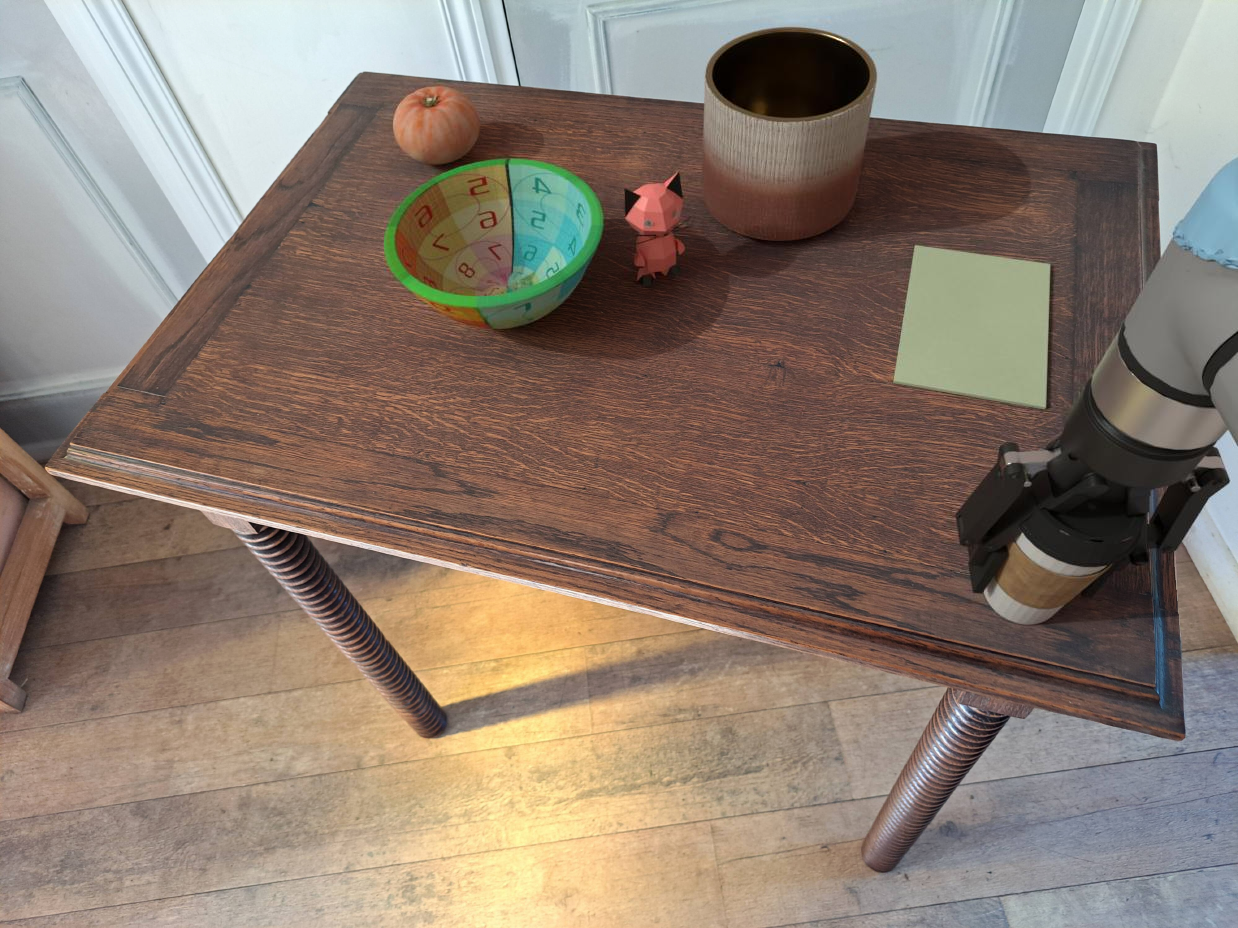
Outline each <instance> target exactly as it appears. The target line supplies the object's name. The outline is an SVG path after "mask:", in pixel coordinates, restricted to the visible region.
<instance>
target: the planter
mask: <svg viewBox="0 0 1238 928" xmlns="http://www.w3.org/2000/svg"><path fill="white" fill-rule="evenodd" d="M877 71H878V70H877V67H876V64H875V62H874V60H873V58H872V57H871V56H870V55H869V53H868V52H867V51H866V50H865V49H864V48H863V47H861V46H860V45H858V44H857V43H856V42H854V41H852V40H850V39H849V38H847V37H844V36H842V35H839V34H837V33H834V32H831V31H827V30H823V29H818V28H811V27H803V26H781V27H770V28H764V29H759V30H755V31H751V32H748V33H745V34H743V35H740V36H738V37H735V38H733V39H732V40H730V41H728V42H726V43H725V44H723V45H722V46H721V47H719V49H717V50H716V51H715V52H714V53H713V54H712V56H711V57H710V59H709V61H708V62H707V65H706V67H705V71H704V97H703V98H704V100H703V131H702V132H703V133H702V159H701V192H702V193H701V194H702V199H703V202H704V205H705V207H706V209H707V210H708V211H709V213H710V215H711V216H712V217H713V218H714V219H715V220H716V221H717V222H719V224H721V225H722V226H724V227H725V228H727V229H729V230H731V231H733V232H735V233H737V234H740V235H741V236H744V237H747V238H751V239H755V240H761V241H767V242H790V241H791V242H793V241H799V240H804V239H808V238H812V237H815V236H818V235H820V234H822V233H825V232H827V231H829V230H830V229H832V228H834V227H835V226H837V225H838V224H839V223H840V222H842V221H843V220H844V219H845V217H847V216H848V214H849V212H850V211H851V209H852V207H853V205H854V202H855V199H856V196H857V191H858V186H859V182H860V176H861V170H862V164H863V159H864V153H865V147H866V141H867V136H868V130H869V124H870V118H871V113H872V110H873V109H872V108H873V103H874V98H875V92H876V87H877V81H878V72H877Z"/></svg>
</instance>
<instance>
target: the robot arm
mask: <svg viewBox="0 0 1238 928" xmlns="http://www.w3.org/2000/svg"><path fill="white" fill-rule="evenodd" d="M1227 432H1229V434H1230V436H1231V437H1232V439H1233V441H1234V443H1235V444H1236V446H1237V447H1238V157H1236V158H1234V159H1232V160H1230V161H1229V162H1227V163H1226V164H1225V165H1223V166H1222V167H1221V168H1219V170H1217V172H1216V173H1215V174H1214V175H1213V176H1212V178H1211V179H1210V181H1209V182H1208V183H1207V185H1206V186H1205V188H1204V189H1203V190H1202V192H1201V193H1200V195H1199V197H1197V199H1196V200H1195V202H1194V203H1193V205H1192V206H1191V208H1189V210H1188V212H1186V215H1185V216H1183V218H1182V219H1181V220H1179V221H1178V222H1177V224H1175V226H1174V229H1173V231H1172V237H1171V239H1170V241H1169V243H1168V244H1167V246H1166V248H1165V250H1164V251H1163V253H1162V255H1161V257H1160V258H1159V260H1158V261H1157V263H1156V265H1155V267H1154V268H1153V270H1152V272H1151V274H1150V276H1149V277H1148V279H1147V280H1146V283H1145V284H1144V286H1143V287H1142V290H1141V291H1140V293H1139V294H1138V296H1137V299H1136V300H1135V301H1134V304H1133V305H1132V307H1131V309H1130V310H1129V312H1128V314H1127V316H1125V319H1124V321H1123V323H1122V325H1121V326H1120V328H1119V330H1118V331H1117V333H1116V334H1115V336H1114V338H1113V340H1112V341H1111V343H1110V345H1109V346H1108V348H1107V350H1106V352H1105V354H1104V355H1103V357H1102V359H1101V360H1100V362H1099V364H1098V365H1097V367H1096V369H1095V370H1094V372H1093V374H1092V375H1091V377H1089V379H1088V380H1087V382H1086V384H1085V385H1084V387H1083V389H1082V391H1081V392H1080V394H1079V395H1078V397H1077V398H1076V400H1075V402H1074V404H1073V406H1072V407H1071V408H1070V411H1069V412H1068V415H1067V417H1066V420H1065V423H1064V427H1063V429H1062V432H1061V434H1060V435H1059V436H1058V437H1056V438H1055V439H1053V440H1051V441H1050V442H1049V443H1047V444H1046V445H1045V447H1044V448H1043V449H1041V450H1040V449H1039V450H1029V451H1021V449H1020V446H1019V445H1020V444H1018V443H1017V442H1014V441H1007V442H1005V443H1002V444H1000V446H999V448H998V453H997V461H996V463H995V464H994V465H993V467H992V468H991V469H990V471H988V473H987V474H986V476H985V477H984V478H983V479H982V480H981V481H980V483H979V484H978V485H977V486H976V487H975V489H974V490H973V492H972V493H971V494H970V495H969V497H967V499H966V500H965V501H964V502H963V504H962V505H961V506H960V507H959V508H958V510H957V511H956V512H955V521H956V528H957V534H958V540H959V545H960V546H962V547H967V553H968V562H967V565H968V571H969V577H970V585H971V590H972V593H973V594H984V590H985V589H986V587H987V586H988V584H989V583H990V581H991V579H992V578H993V576H994V575H995V573H996V572H997V570H998V569H999V567H1000V565H1001V564H1002V562H1003V561H1004V559H1005V558H1006V556H1007V549H1006V544H1008V543H1009V542H1011V541H1012V540H1014V539H1015V538H1017V537H1018V536H1020V535H1021V534H1022V531H1021V530H1020V528H1019V527H1020V526H1021V525H1022V523H1023V522H1025V521H1028V520H1029V519H1030V518H1031V517H1032V516H1033V515H1034V513H1035V512H1036V511H1035V510H1034V509H1032V508H1031V507H1029V505H1028V500H1027V493H1028V490H1029V486H1031V487H1032V490H1033V493H1034V496H1035V499H1036V502H1037V505H1038V508H1039V510H1047V511H1048V512H1049V513H1050V514H1051V515H1052V514H1054V513H1056V512H1061V513H1067V512H1069V511H1070V510H1072V509H1073V508H1075V507H1076V506H1078V505H1080V504H1081V503H1083V502H1084V501H1091V500H1103V501H1108V502H1122V503H1123V506H1124V510H1125V513H1126V516H1127V518H1132V517H1134V516H1135V515H1136V514H1141V513H1145V521H1144V524H1143V526H1142V530H1141V535H1140V538H1139V540H1138V542H1137V544H1136V545H1135V547H1134V549H1133V550H1132V551H1131V552H1130V553H1129V555H1128V556H1126V557H1125V558H1123V559H1122V560H1120V561H1119V562H1116V563H1113V565H1112V566H1111V567H1110V568H1109V569H1108V570H1106V571H1105V572H1104V573H1103V574H1102V575H1100V576H1099V577H1098V578H1097V579H1096V580H1094V581H1093V582H1092V583H1091V584H1090V585H1088V586H1087V587H1086V588H1085V589H1083V590H1082V591H1081V592H1080V593H1079V595H1080V598H1081V599H1083V598H1084V599H1092V598H1093V597H1094V596H1095V595H1096V594H1097V593H1098V591H1099V590H1100V589H1101V588H1102V587H1103V586H1104V585H1105V584H1106V582H1107V581H1108V580H1109V579H1110V578H1111V577H1112V575H1113V574H1114V573H1115V572H1121V571H1123V570H1125V569H1126V568H1127V567H1128V566H1129V565H1131V566H1133V567H1143V566H1145V565H1147V564H1149V563H1150V557H1149V554H1148V550H1153V549H1157V552H1158V553H1160V554H1172V553H1174V552H1176V551H1177V550H1178V549H1179V547H1180V545H1181V544H1182V543H1183V541H1184V539H1185V538H1186V536H1187V534H1188V533H1189V532H1190V530H1191V528H1192V527H1193V526H1194V525H1193V524H1194V523H1195V522H1196V520H1197V519H1198V517H1199V516H1200V514H1201V512H1202V510H1203V509H1204V507H1205V505H1206V504H1207V503H1208V501H1209V499H1210V498H1211V497H1213V496H1214V495H1216V494H1217V493H1218V492H1220V491H1222V489H1223V488H1225V487H1226V486H1228V485H1229V484H1230V483H1231V479H1230V477H1229V473H1228V471H1227V469H1226V466H1225V463H1224V461H1223V458H1222V455H1221V453H1220V450H1219V448H1218V447H1216V446H1215V445H1216V444H1217V442H1219V441H1220V440H1221V438H1222V437H1223V436H1224V435H1225V434H1226V433H1227ZM1036 473H1038V476H1037V477H1036V478H1035V479H1033V480H1032V481H1031V478H1033V477H1034V476H1035V474H1036ZM1166 487H1167V488H1166ZM1161 488H1166V489H1165V491H1164V493H1163V495H1162V497H1161V499H1160V501H1159V502H1158V504H1157V506H1156V507H1155V509H1154V512H1153V514H1152V515H1151V517H1150V519H1149V521H1148V513H1150V499H1151V498H1150V497H1151V496H1152V491H1153V490H1156V489H1161ZM1148 522H1149V523H1148Z"/></svg>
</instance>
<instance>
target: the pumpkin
mask: <svg viewBox="0 0 1238 928" xmlns="http://www.w3.org/2000/svg"><path fill="white" fill-rule="evenodd" d="M479 115H480V114H479V112H478V110H477V108H476V106H475V104H474V103H473V101H472V100H471V99H470V97H468V95H466V94H464V93H462V92H460V91H459V90H457V89H456V88H453V87H450V86H449V87H448V86H444V85H438V86H426V87H423V88H419V89H417V90H416V91H414V92H412V93H410V94H408V95H406V97H404V98H403V99H402V100H401V101H400V103H399V104H398V105H397V108H396V109H395V112H394V115H393V120H392V128H393V129H392V130H393V135H394V138H395V140H396V141H395V142H396V143H397V145H398V146H399V147H400V149H401V150H402V151H403V152H404V153H405V154H406V155H407V156H408V157H410V158H411V159H413V160H415V161H417V162H420V163H423V164H427V165H446V164H449V163H452V162H455V161H457V160H460V159H461V158H463V157H464V156H465V155H466V154H468V153H469V152H470V151H471V150H472V149H473V147H474V146H475V144H476V142H477V140H478V138H479V134H480V129H481V128H480V127H481V126H480V125H481V122H480V117H479Z"/></svg>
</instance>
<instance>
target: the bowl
mask: <svg viewBox="0 0 1238 928" xmlns="http://www.w3.org/2000/svg"><path fill="white" fill-rule="evenodd" d="M604 217H605V216H604V212H603V207H602V203H601V202H600V200H599V198H598V196H597V194H596V192H594V191H593V189H592V188H591V187H590V186H589V184H588V183H586V182H585V181H584V180H583V179H582V178H581V177H579V176H577V175H576V174H575V173H572V172H571V171H569V170H567V169H565V168H562V167H560V166H558V165H555V164H553V163H547V162H544V161H540V160H534V159H526V158H495V159H489V160H481V161H476V162H473V163H469V164H465V165H461V166H458V167H455V168H452V169H450V170H448V171H445V172H443V173H441V174H439V175H437V176H435V177H433V178H430V179H429V180H428V181H426V182H425V183H423V184H421V185H420V186H419V187H418V188H417V187H416V189H414V190H413V192H411V193H410V194H408V195H407V197H406V198H405V199H404V200H403V201H402V202H401V203H400V204H399V205H398V206H397V208H396V210H395V211H394V212H393V213H392V215H391V217H390V219H389V222H388V224H387V226H386V228H385V233H384V238H383V253H384V256H385V257H384V258H385V260H386V265H387V266H388V267H389V270H390V272H391V273H392V275H393V276H394V277H395V278H396V280H398V282H399V283H400V284H401V285H402V286H403V287H405V288H406V289H408V290H409V291H410V292H412V294H413V295H415V296H416V297H417V298H419V299H420V300H421V301H423V302H424V303H426V304H428V306H430V307H431V308H432V309H434V310H435V311H437V312H438V313H439V314H441V315H444V316H445V317H447V318H449V319H451V320H453V321H455V322H457V323H460V324H463V325H466V326H470V327H475V328H480V329H481V328H482V329H488V330H491V329H492V330H501V329H502V330H503V329H512V328H518V327H521V326H524V325H528V324H530V323H533V322H535V321H537V320H539V319H541V318H543V317H545V316H547V315H548V314H550V313H551V312H553V311H554V310H556V309H557V308H558V307H559V306H561V305H562V304H563V303H564V302H565V301H566V300H567V299H568V298H569V297H570V296H571V294H572V293H573V291H574V290H575V289H576V288H577V286H578V285H579V283H580V282H581V281H582V279H583V277H584V274H585V273H586V270H587V268H588V267H589V265H590V263H591V262H592V259H593V257H594V255H595V253H596V251H597V249H598V246H599V244H600V242H601V240H602V236H603V231H604V227H605V226H604V225H605V224H604V222H605V221H604V220H605V219H604Z"/></svg>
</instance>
